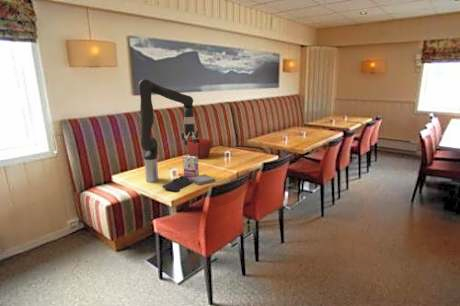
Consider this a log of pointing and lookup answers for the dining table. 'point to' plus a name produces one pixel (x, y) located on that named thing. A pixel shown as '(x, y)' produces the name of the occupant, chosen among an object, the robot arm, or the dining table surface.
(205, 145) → the plant pot
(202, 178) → the slate board
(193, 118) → the robot arm
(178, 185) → the dark slate chunk
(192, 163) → the candy bar box
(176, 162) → the dining table surface
